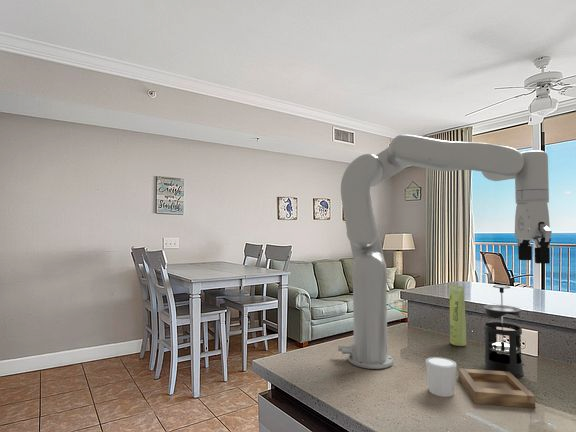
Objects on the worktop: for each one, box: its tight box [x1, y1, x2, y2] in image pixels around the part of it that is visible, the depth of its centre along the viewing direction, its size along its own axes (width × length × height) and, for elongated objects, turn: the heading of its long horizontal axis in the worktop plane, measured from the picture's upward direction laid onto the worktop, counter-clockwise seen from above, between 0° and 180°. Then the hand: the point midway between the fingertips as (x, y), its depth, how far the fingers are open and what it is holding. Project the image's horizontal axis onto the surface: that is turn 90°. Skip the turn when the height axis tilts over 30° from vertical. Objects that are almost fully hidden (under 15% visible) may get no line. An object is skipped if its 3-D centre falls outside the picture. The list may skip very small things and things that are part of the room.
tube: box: [449, 283, 467, 347], centre depth 124 cm, size 6×5×20 cm
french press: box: [483, 284, 525, 379], centre depth 102 cm, size 12×9×23 cm
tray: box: [458, 368, 536, 409], centre depth 88 cm, size 12×14×2 cm
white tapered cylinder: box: [425, 356, 457, 398], centre depth 88 cm, size 7×7×7 cm
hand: (533, 261), depth 99 cm, fingers open, 9 cm apart
